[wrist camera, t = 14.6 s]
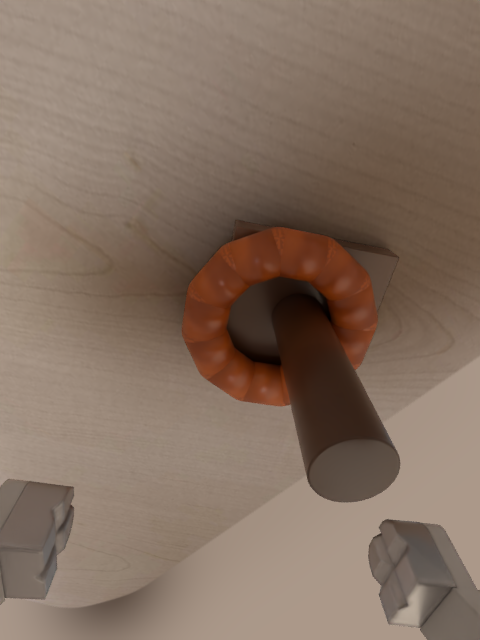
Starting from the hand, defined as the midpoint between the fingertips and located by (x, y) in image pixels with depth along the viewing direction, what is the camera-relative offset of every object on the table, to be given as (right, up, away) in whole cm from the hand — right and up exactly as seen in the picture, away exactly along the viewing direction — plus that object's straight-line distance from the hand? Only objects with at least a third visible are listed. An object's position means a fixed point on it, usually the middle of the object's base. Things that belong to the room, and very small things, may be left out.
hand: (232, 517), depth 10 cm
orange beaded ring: (+2, +5, +11) cm, 12 cm away
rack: (+4, +6, +13) cm, 15 cm away
